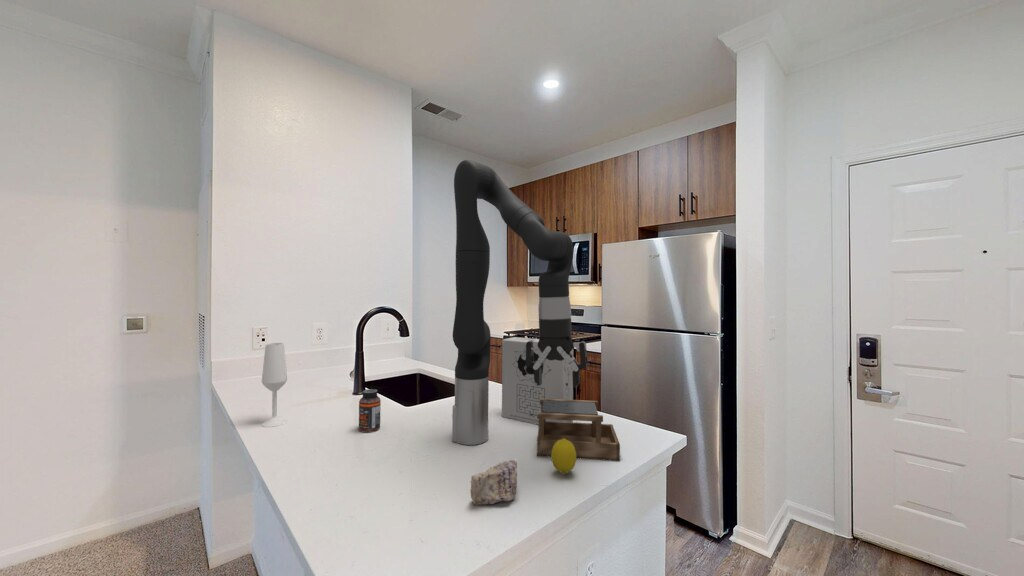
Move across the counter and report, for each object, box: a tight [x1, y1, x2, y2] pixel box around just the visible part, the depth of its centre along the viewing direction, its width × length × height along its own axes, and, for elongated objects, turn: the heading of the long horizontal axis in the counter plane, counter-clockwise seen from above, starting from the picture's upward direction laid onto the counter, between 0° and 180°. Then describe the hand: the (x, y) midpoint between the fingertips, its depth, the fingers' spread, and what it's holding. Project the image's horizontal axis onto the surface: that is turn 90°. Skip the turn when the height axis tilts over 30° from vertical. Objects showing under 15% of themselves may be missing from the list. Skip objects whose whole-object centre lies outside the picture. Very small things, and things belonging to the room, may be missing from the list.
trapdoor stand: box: [536, 399, 621, 462], centre depth 103 cm, size 20×14×10 cm
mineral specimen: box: [470, 459, 518, 506], centre depth 79 cm, size 13×7×6 cm, turn 145°
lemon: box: [550, 438, 577, 475], centre depth 89 cm, size 6×6×8 cm
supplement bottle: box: [358, 388, 382, 433], centre depth 115 cm, size 6×6×11 cm
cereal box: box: [501, 336, 574, 426], centre depth 124 cm, size 22×8×25 cm, turn 58°
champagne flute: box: [261, 342, 288, 428], centre depth 120 cm, size 7×7×24 cm
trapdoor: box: [542, 400, 599, 421], centre depth 104 cm, size 14×10×2 cm
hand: (557, 385), depth 92 cm, fingers open, 8 cm apart
